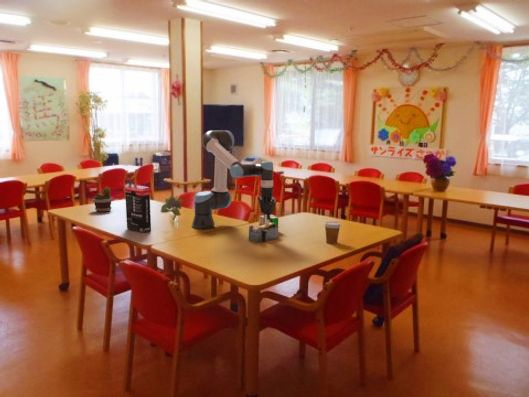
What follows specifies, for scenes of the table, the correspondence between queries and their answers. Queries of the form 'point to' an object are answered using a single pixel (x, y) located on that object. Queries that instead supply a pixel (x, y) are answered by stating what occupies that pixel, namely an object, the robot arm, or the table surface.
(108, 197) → the flowerpot
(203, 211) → the robot arm
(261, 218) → the puzzle cube
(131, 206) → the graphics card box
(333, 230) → the disposable coffee cup
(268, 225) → the strap
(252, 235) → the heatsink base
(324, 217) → the table surface
